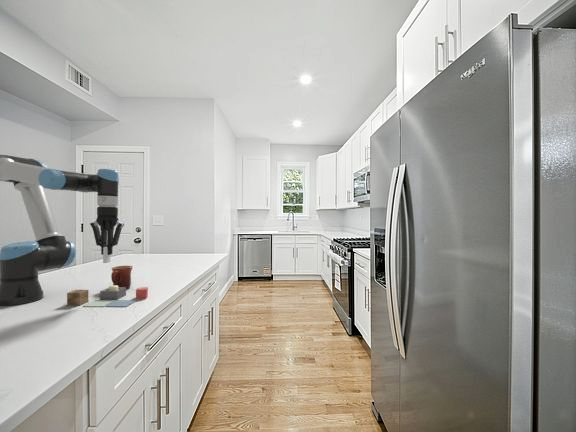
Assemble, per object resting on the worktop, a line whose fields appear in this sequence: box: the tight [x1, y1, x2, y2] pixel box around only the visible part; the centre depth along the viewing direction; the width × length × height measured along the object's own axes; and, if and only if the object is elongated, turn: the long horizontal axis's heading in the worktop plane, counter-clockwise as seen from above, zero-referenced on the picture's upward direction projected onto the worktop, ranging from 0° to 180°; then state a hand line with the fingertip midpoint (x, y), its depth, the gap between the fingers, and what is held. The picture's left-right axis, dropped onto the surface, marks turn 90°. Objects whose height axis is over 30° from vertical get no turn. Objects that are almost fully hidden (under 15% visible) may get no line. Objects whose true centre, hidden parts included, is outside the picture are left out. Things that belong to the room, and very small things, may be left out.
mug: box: [110, 265, 133, 290], centre depth 142 cm, size 12×9×10 cm
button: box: [108, 284, 118, 291], centre depth 129 cm, size 4×4×4 cm
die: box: [135, 286, 149, 300], centre depth 129 cm, size 4×4×4 cm
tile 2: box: [105, 299, 137, 308], centre depth 120 cm, size 8×8×1 cm
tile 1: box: [82, 299, 116, 308], centre depth 120 cm, size 8×8×1 cm
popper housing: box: [99, 287, 127, 301], centre depth 129 cm, size 7×7×4 cm
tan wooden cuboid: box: [66, 289, 89, 307], centre depth 120 cm, size 5×5×5 cm
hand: (106, 262), depth 127 cm, fingers closed
